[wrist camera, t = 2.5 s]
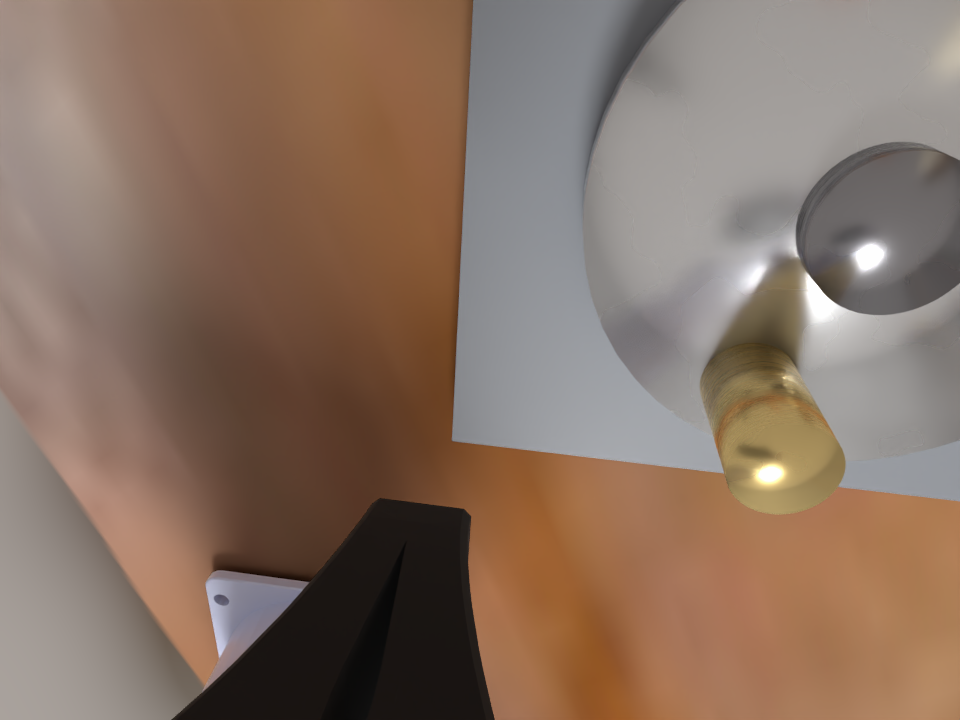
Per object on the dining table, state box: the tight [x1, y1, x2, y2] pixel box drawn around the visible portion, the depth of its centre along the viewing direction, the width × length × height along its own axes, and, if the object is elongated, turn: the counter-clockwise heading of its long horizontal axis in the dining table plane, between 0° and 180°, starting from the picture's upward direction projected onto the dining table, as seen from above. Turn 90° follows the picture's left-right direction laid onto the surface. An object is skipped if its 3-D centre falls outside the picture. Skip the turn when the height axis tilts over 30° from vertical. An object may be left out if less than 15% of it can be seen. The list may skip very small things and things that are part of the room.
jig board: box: [452, 0, 960, 501], centre depth 13 cm, size 14×16×5 cm
